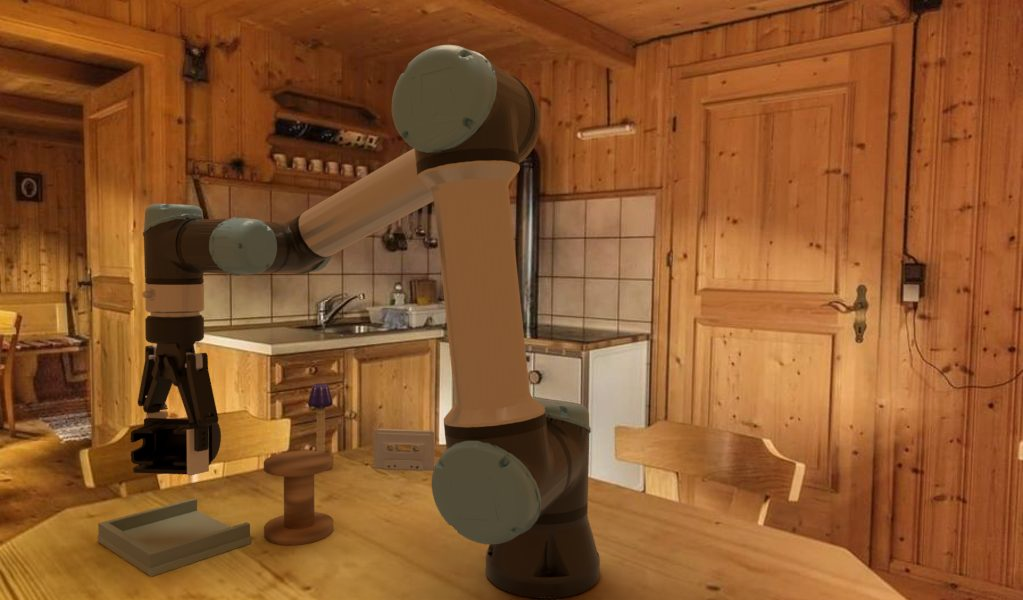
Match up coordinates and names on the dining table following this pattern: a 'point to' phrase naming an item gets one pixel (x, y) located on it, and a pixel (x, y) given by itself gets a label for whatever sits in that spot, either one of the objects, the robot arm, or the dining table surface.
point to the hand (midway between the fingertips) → (176, 464)
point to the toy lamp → (320, 411)
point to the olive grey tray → (170, 537)
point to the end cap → (167, 446)
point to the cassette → (404, 458)
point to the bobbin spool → (298, 498)
